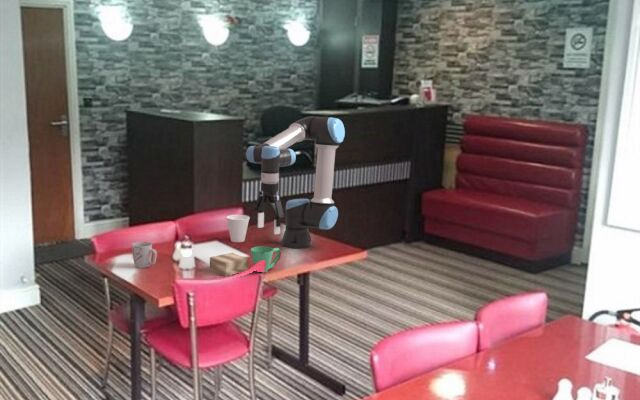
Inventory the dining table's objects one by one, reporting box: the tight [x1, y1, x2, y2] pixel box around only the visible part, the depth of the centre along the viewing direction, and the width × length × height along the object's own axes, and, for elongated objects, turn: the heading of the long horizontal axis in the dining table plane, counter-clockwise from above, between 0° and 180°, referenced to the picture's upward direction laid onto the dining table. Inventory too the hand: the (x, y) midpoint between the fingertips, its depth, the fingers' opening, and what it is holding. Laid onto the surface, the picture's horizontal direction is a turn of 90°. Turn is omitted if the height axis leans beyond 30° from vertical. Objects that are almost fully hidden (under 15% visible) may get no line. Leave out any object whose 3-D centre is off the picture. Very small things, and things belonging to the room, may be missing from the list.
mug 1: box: [131, 241, 158, 269], centre depth 300 cm, size 11×8×10 cm
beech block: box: [209, 252, 250, 277], centre depth 298 cm, size 12×12×6 cm
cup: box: [225, 214, 250, 243], centre depth 348 cm, size 12×12×12 cm
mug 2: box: [250, 246, 282, 273], centre depth 300 cm, size 15×10×10 cm
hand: (268, 230), depth 298 cm, fingers open, 13 cm apart
